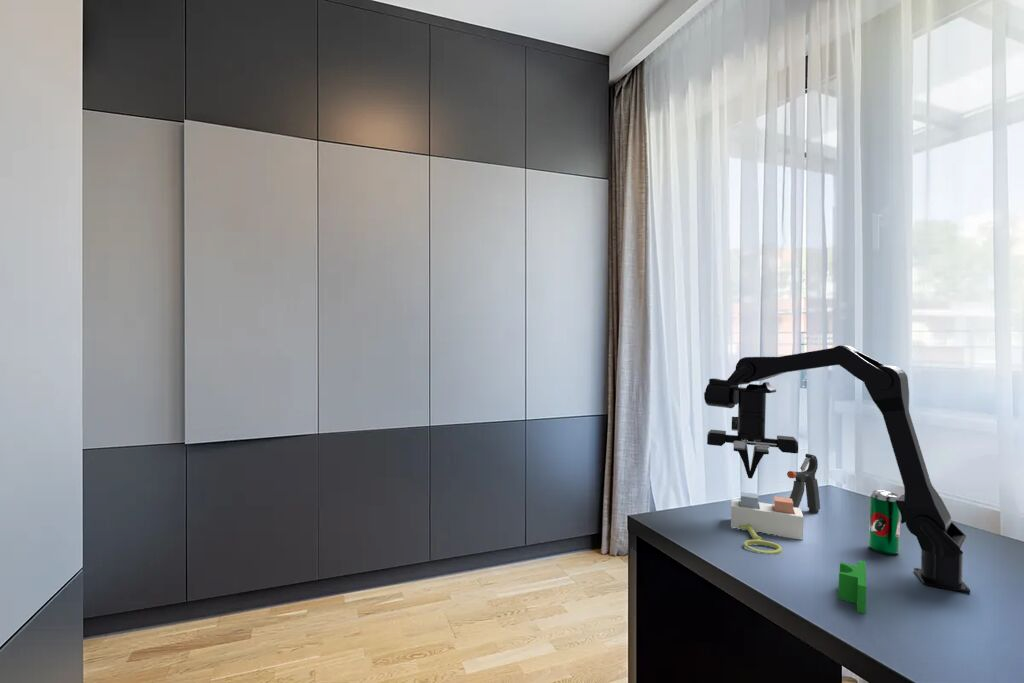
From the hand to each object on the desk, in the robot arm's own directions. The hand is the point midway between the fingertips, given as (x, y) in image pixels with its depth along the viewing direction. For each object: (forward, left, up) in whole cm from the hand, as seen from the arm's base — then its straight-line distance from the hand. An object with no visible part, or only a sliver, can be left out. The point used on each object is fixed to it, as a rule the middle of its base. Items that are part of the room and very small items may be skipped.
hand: (750, 478), depth 116 cm
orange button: (0, -7, -9) cm, 11 cm away
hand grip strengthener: (+15, -12, -12) cm, 22 cm away
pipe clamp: (-27, -16, -12) cm, 33 cm away
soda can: (-1, -25, -12) cm, 28 cm away
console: (0, -3, -11) cm, 12 cm away
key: (-9, -1, -12) cm, 15 cm away
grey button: (0, 0, -9) cm, 9 cm away
